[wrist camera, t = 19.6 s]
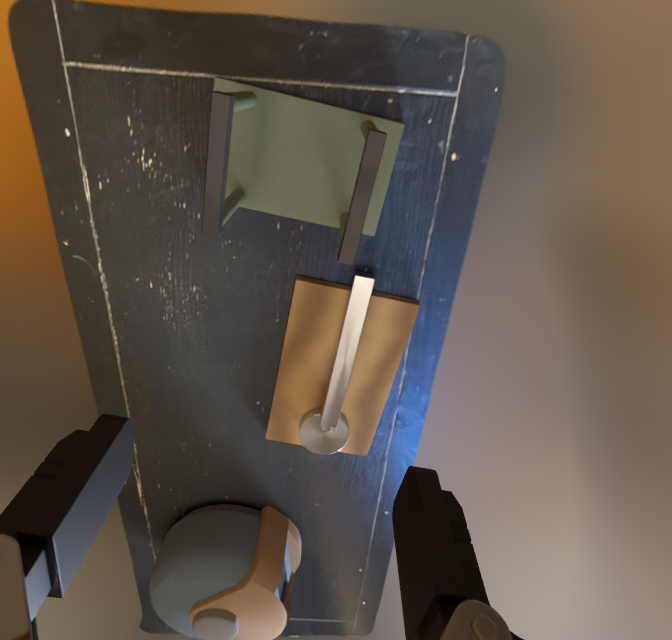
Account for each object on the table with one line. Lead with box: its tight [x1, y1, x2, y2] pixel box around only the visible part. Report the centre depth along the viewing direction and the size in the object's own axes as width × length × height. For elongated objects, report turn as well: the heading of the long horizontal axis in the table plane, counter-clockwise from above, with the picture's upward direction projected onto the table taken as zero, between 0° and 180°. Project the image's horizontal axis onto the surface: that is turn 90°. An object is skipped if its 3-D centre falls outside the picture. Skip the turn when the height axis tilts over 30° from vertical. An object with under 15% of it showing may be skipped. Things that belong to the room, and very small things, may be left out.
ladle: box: [299, 271, 375, 455], centre depth 47 cm, size 24×6×3 cm, turn 168°
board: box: [265, 275, 420, 456], centre depth 49 cm, size 13×22×1 cm, turn 167°
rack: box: [201, 77, 405, 265], centre depth 34 cm, size 16×10×11 cm, turn 77°
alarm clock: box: [149, 504, 301, 640], centre depth 60 cm, size 19×20×12 cm
